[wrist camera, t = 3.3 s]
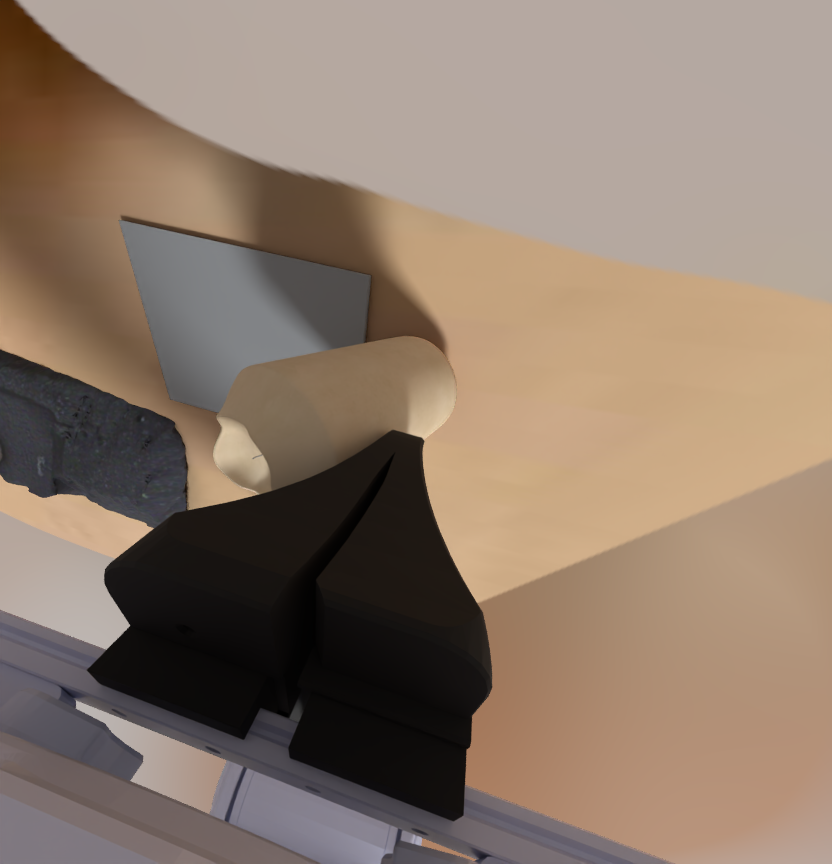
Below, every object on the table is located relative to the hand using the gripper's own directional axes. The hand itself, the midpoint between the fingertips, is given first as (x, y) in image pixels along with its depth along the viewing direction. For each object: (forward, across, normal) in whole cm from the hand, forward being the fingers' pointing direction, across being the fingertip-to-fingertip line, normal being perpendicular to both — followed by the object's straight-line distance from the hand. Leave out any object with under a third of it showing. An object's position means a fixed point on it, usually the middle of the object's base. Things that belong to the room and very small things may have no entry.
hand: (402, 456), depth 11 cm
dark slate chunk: (+8, +30, +14) cm, 34 cm away
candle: (+7, +1, 0) cm, 7 cm away
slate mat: (+8, +12, +1) cm, 14 cm away
